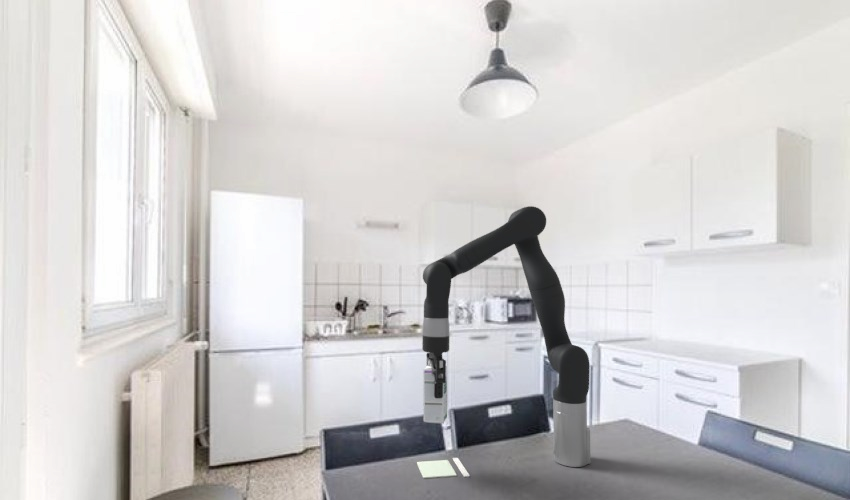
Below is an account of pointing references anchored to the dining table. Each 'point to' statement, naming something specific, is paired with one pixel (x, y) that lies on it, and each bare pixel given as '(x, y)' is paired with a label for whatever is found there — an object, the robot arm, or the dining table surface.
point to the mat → (436, 469)
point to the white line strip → (461, 467)
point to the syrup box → (433, 399)
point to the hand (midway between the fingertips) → (435, 394)
